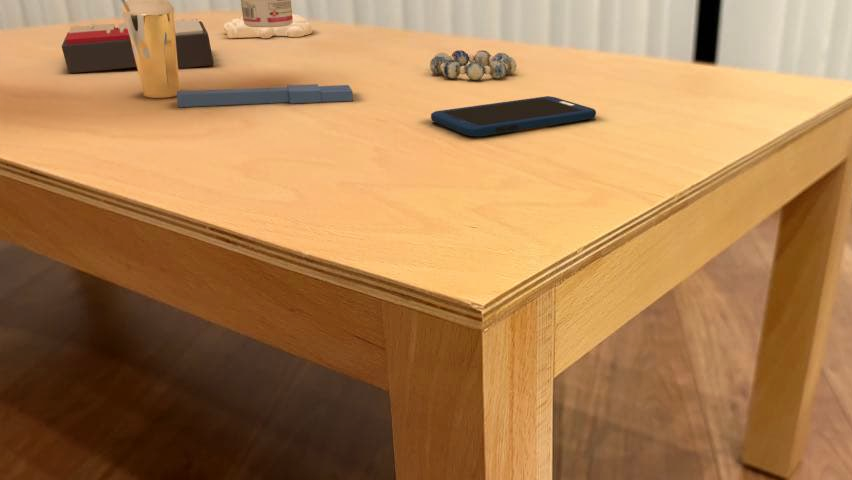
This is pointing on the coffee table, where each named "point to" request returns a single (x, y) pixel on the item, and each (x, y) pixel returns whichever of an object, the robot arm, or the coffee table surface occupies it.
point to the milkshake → (153, 45)
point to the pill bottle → (267, 13)
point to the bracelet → (472, 65)
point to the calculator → (130, 47)
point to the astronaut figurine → (268, 29)
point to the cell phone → (512, 115)
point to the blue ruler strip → (265, 95)
